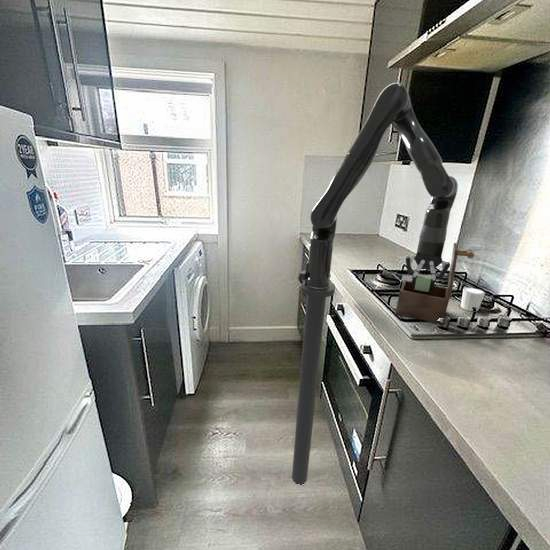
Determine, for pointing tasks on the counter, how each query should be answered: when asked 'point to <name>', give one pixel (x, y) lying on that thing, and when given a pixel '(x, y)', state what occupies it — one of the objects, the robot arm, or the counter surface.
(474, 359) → the counter surface
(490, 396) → the counter surface
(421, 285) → the block
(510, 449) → the counter surface
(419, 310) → the chest
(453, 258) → the lid
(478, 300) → the white cup
